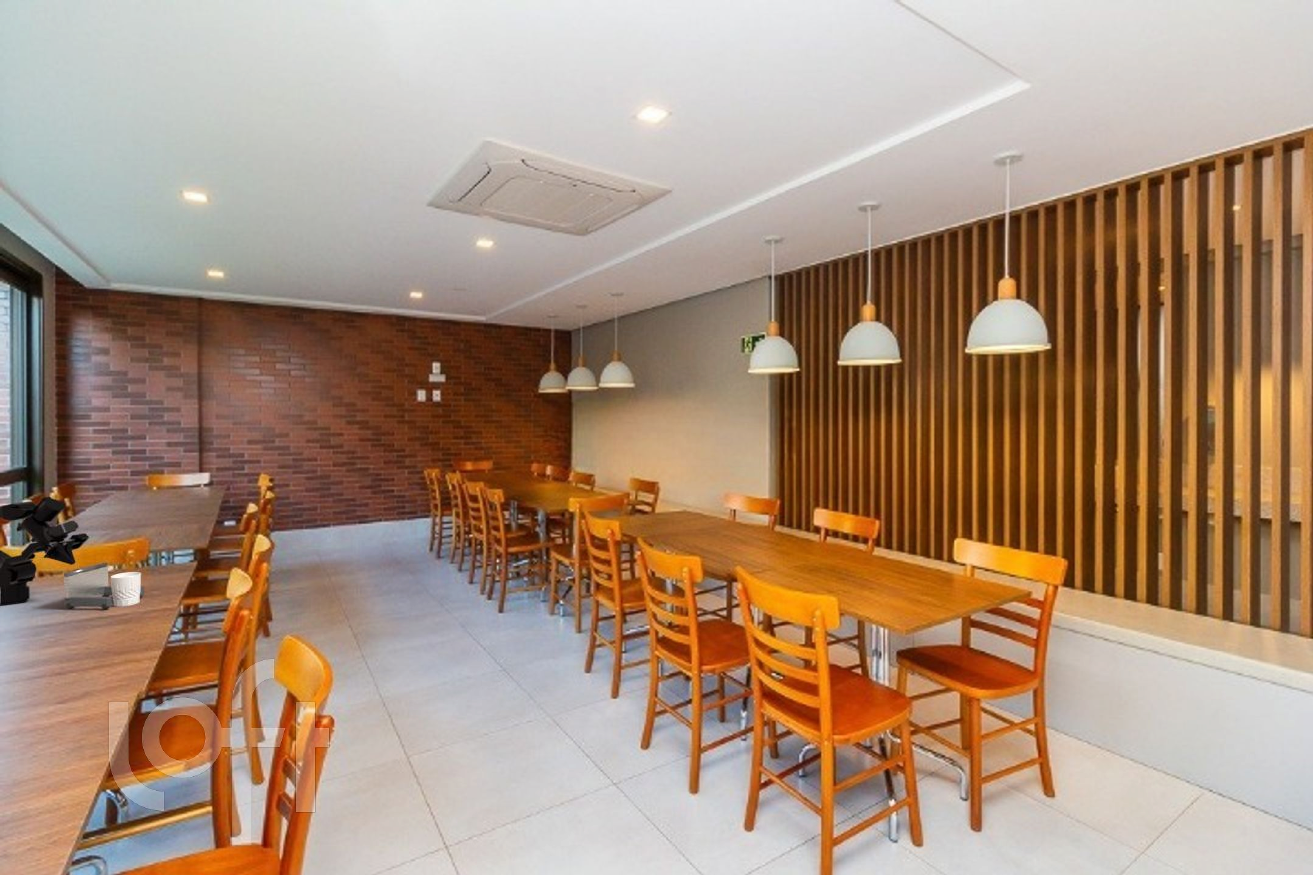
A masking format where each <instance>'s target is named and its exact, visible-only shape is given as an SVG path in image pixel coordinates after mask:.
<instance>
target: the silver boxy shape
mask: <svg viewBox="0 0 1313 875" xmlns="http://www.w3.org/2000/svg"><path fill="white" fill-rule="evenodd" d="M144 595H145V585H144V586H141V589H140V599H141V598H143V597H144ZM63 597H64V600H63V602H64V607H65V608H66V609H67V610H72V609H74V608H76V607H90V608H91V607H93V608H94V607H96V608H97V607H99V608H100V607H101V609H103V610H108V609H110V608H111V607H112V606H113V597H112V589H111V585H109V566H108V562H103V563H102V562H101V563H99V564H95V565H91V566H86V567H83V568H80V569H79V568H78V569H74V570H71V571H67V572H65V573H64V574H63Z"/></svg>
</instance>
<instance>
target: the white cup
mask: <svg viewBox="0 0 1313 875" xmlns="http://www.w3.org/2000/svg"><path fill="white" fill-rule="evenodd" d="M141 580H142V572H139V571H131V572H130V571H129V572H121V573H116V574H113V575H111V576H110V586H111V589H112V595H111V597H112V605H113V606H114V607H119V608H121V607H122V608H123V607H128V606H133V605H137V604H140V601H141V600H140V599H141V598H140V589H141V584H142V581H141Z"/></svg>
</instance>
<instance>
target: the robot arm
mask: <svg viewBox="0 0 1313 875" xmlns="http://www.w3.org/2000/svg"><path fill="white" fill-rule="evenodd" d="M65 509H66V505H65V503H64V502H63V501H61V500H59V499H56V498H52V497H51V496H43V497H42V499H41V500H40V501H39V502H38V504H35V503H34V502H33V501H30V500H29V501H23V502H15V503H14V502H13V503H9V504H4V505H1V506H0V519H1V520H4V521H5V520H6V521H11V522H12V521H13V522H14V521H20V520H23V521H22V522H18V523H17V527H16V532H22V531H25V532H26V533H27V534H28V535H29V536H30V537H31V538H32V539H30V541H31V543H29V544H28V545H27V547H25V548H24V549H23V550H22V551H21V554H20V555H14V556H11V555H10V554H8V553H6V552H5V551H3V550H1V549H0V606H6V605H12V604H13V605H15V604H22V603H27V602H28V600H30V598H31V587H30V585H28V583H29V582H33V581H34V579H35V575H36V572H37V565H36V564H35V563H34V562H33V559H35V558H36V554H38V553H42V552H44V554H45V555H44V556H43V558H44V559H51V560H54V561H58V562H61V563H64V564H68V565H70V566H72V565H75V563H76V559H75V556H74V553H73V551H74V550H78V549H80V548H81V547H82V546H83V545H84V544H85V543H86V542H87V541H88V539H90V536H89V535H87V533H85V532H84V533H83V532H82V533H76V534H72V535H71V536H70V537H69V534H71V533H73V532H77V530H78V529H79V524H78V522H76V520H69V521H68V522H64V523H60V524H57V525H54V526H52V525H51V524H50V523H51V522H53V521H54V520H55V519H56V518H57V517H58V516H59V515H60V514H61V513H62V512H63V511H64V510H65ZM68 537H69V538H68ZM67 538H68V539H67ZM65 539H67V540H65Z"/></svg>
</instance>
